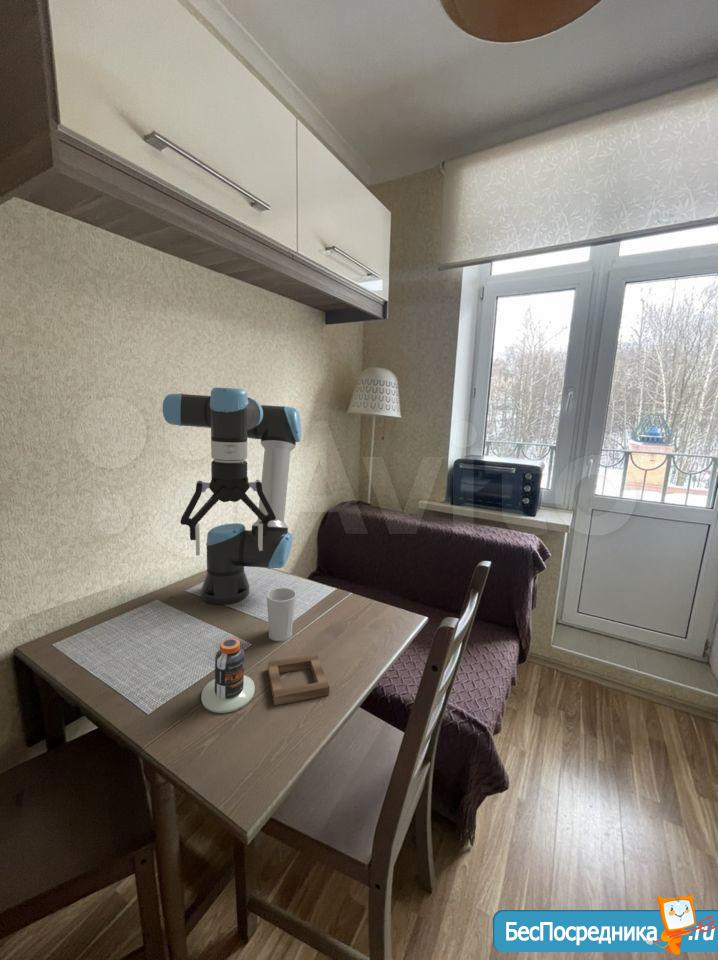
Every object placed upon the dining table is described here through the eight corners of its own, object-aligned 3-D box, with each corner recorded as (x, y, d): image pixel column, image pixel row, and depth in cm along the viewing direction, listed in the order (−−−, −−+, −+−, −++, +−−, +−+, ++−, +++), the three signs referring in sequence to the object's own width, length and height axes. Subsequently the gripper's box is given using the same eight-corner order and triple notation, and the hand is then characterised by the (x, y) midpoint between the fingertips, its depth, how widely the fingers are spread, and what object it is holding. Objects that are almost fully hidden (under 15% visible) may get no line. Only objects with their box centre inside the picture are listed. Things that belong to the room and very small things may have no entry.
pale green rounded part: (202, 681, 87) (202, 678, 87) (252, 673, 91) (252, 670, 90) (200, 718, 77) (200, 714, 77) (256, 707, 80) (256, 703, 80)
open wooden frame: (267, 669, 92) (267, 661, 92) (316, 661, 96) (316, 654, 96) (274, 705, 81) (274, 697, 81) (329, 694, 85) (329, 686, 85)
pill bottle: (225, 704, 79) (225, 655, 78) (209, 691, 83) (209, 643, 81) (249, 689, 84) (250, 642, 82) (233, 677, 88) (233, 631, 86)
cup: (288, 645, 102) (289, 603, 100) (260, 640, 104) (261, 598, 102) (298, 629, 110) (300, 590, 108) (272, 624, 112) (273, 586, 110)
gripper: (164, 462, 77) (168, 562, 81) (289, 463, 85) (287, 552, 90) (168, 456, 83) (171, 548, 88) (283, 457, 92) (281, 541, 96)
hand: (230, 550), depth 89 cm, fingers open, 13 cm apart
